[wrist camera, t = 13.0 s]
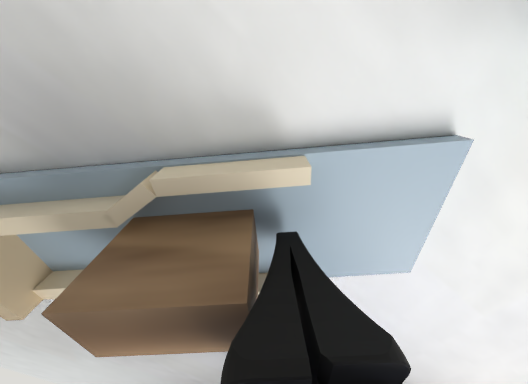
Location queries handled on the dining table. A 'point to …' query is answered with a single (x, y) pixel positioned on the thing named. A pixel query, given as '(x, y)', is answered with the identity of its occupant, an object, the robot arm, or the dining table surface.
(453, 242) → the dining table surface
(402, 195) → the slide board
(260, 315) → the robot arm
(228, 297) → the brown prism
